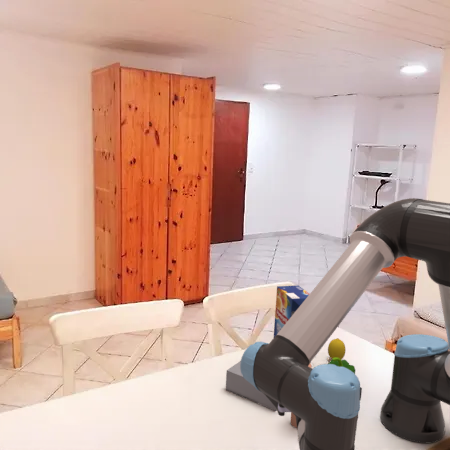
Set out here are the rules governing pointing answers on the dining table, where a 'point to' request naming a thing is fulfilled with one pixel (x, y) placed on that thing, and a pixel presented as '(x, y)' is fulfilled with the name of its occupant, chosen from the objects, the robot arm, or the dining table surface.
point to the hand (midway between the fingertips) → (307, 370)
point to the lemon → (336, 349)
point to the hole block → (245, 387)
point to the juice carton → (287, 304)
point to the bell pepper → (342, 364)
